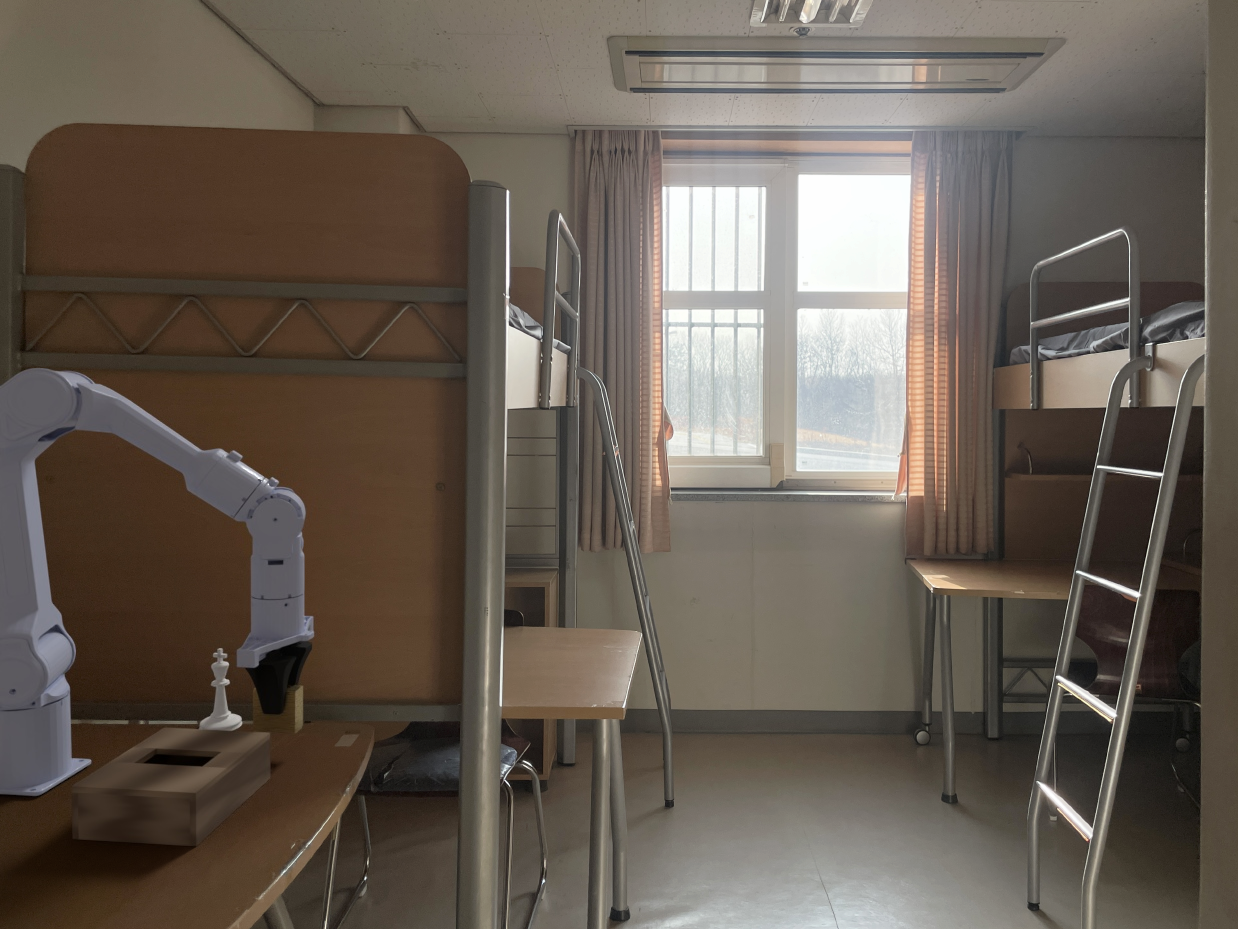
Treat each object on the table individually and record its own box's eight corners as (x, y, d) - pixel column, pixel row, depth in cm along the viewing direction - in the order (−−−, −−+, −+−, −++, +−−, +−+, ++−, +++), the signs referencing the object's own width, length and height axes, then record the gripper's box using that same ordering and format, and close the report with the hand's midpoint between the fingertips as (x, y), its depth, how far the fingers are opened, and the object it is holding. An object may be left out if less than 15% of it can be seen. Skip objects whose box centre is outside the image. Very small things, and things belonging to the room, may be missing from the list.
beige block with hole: (72, 839, 76) (71, 786, 76) (165, 772, 90) (164, 727, 90) (196, 846, 76) (195, 793, 75) (270, 778, 90) (270, 732, 89)
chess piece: (225, 736, 100) (224, 656, 100) (189, 732, 101) (188, 653, 101) (250, 721, 105) (250, 645, 104) (216, 717, 106) (216, 641, 105)
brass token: (253, 731, 95) (253, 689, 94) (261, 724, 97) (261, 683, 96) (295, 734, 94) (295, 691, 94) (302, 727, 96) (303, 685, 96)
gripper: (281, 611, 87) (282, 735, 88) (337, 582, 101) (337, 689, 102) (217, 608, 87) (218, 732, 88) (282, 580, 102) (282, 686, 103)
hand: (278, 709), depth 95 cm, fingers closed on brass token, 2 cm apart
